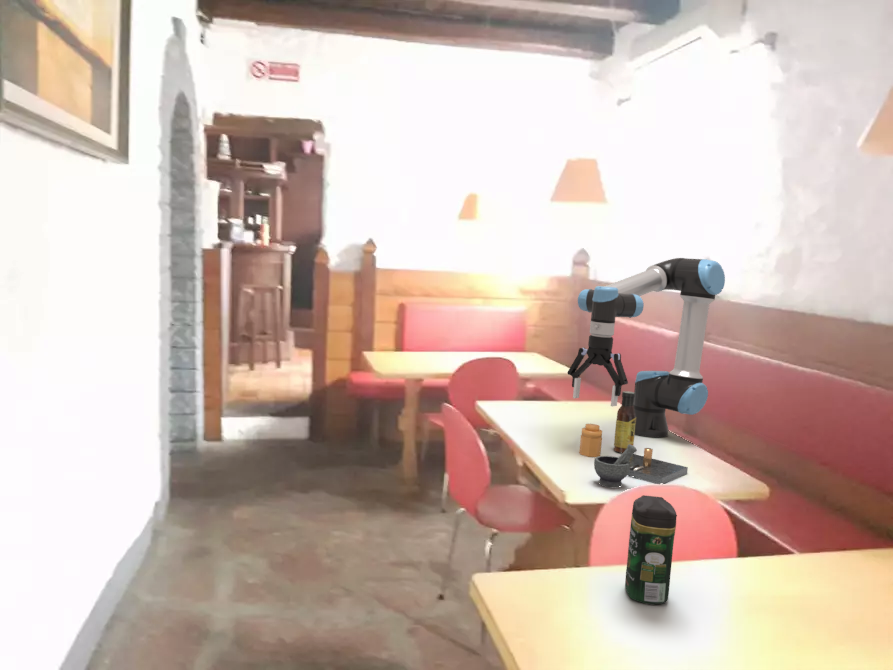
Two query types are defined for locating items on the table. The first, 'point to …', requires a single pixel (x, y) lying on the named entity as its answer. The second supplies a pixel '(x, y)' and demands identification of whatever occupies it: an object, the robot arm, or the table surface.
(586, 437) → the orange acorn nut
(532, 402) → the table surface
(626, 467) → the mortar and pestle
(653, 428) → the robot arm
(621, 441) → the sauce bottle
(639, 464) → the junction plate
